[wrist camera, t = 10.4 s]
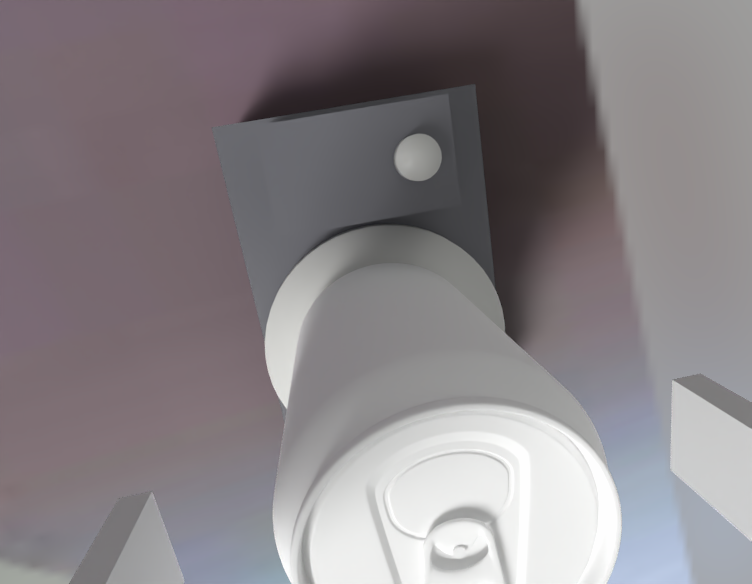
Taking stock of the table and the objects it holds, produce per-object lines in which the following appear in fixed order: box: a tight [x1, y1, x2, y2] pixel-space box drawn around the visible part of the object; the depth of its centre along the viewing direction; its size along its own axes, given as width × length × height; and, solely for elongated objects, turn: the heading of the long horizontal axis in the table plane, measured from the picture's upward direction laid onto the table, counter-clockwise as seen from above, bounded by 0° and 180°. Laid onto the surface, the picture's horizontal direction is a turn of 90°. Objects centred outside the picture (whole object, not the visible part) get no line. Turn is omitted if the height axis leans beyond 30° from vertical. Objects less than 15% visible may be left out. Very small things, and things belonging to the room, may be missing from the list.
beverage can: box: [273, 263, 622, 584], centre depth 16 cm, size 8×8×12 cm
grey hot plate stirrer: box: [212, 84, 505, 422], centre depth 22 cm, size 16×11×8 cm
